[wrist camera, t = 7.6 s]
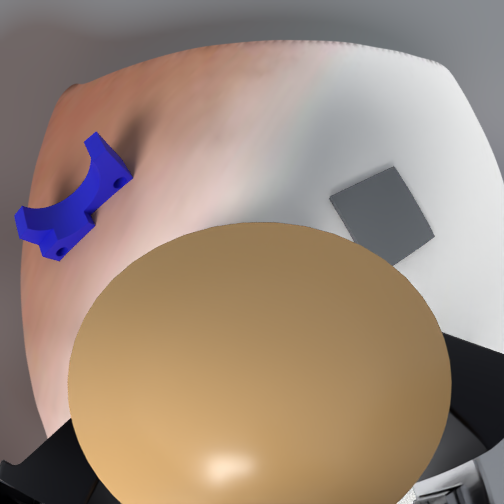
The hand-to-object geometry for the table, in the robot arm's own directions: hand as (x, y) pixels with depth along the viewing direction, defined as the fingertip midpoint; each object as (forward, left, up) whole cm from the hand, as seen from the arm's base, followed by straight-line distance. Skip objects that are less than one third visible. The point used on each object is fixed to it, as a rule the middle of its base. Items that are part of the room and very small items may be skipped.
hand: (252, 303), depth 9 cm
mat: (+1, -14, -13) cm, 19 cm away
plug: (-1, 0, -6) cm, 6 cm away
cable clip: (+16, +12, -14) cm, 24 cm away
